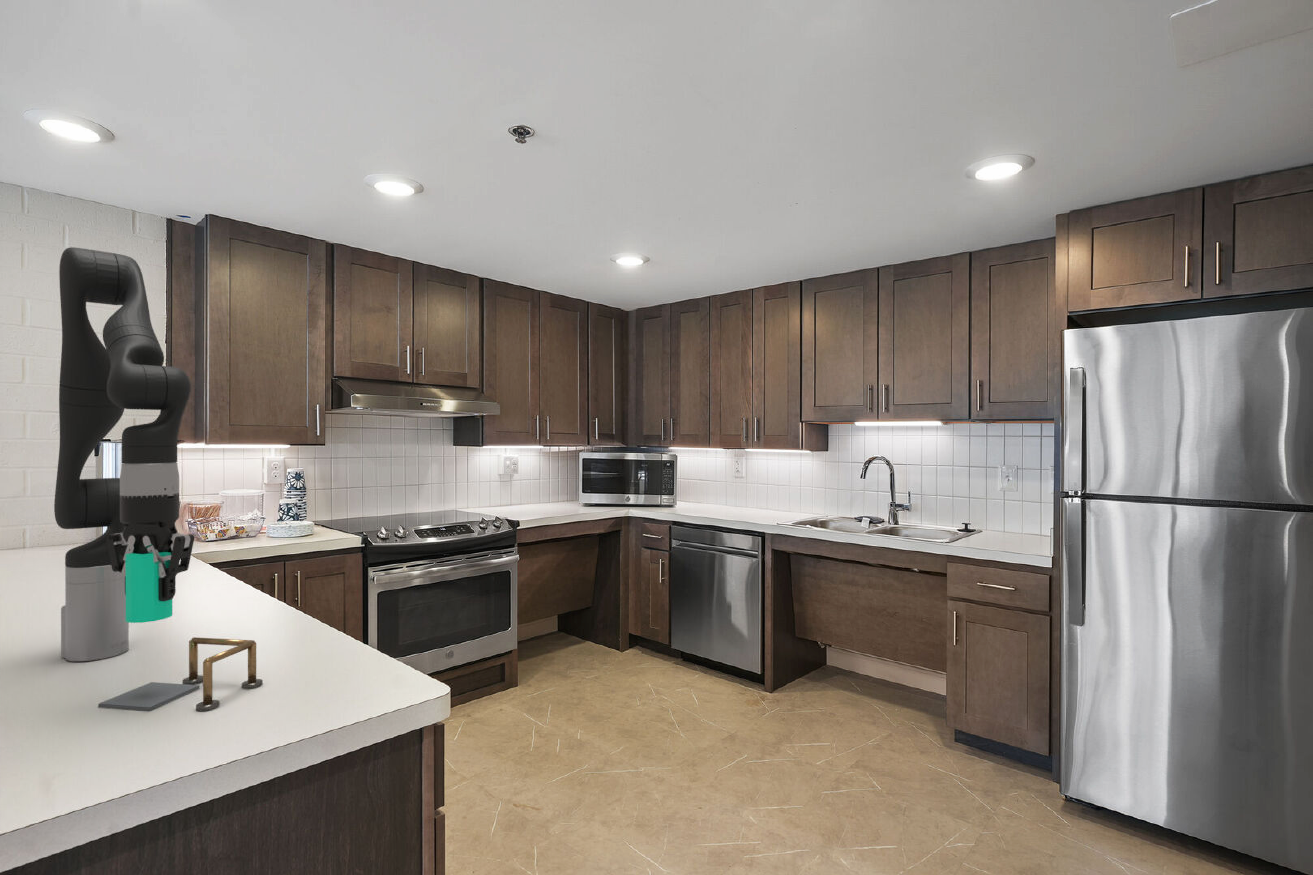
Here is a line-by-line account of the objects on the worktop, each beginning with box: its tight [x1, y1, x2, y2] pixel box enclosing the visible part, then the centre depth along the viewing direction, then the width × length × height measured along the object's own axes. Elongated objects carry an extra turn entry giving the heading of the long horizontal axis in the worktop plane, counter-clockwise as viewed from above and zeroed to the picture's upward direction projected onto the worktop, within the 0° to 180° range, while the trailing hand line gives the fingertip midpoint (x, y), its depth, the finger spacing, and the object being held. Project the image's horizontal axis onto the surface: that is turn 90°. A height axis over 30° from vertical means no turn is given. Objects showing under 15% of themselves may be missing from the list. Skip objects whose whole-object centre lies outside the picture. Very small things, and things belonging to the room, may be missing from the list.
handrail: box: [181, 637, 264, 713], centre depth 107 cm, size 14×12×8 cm
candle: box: [126, 552, 173, 624], centre depth 106 cm, size 6×6×12 cm
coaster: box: [97, 681, 201, 712], centre depth 106 cm, size 9×9×1 cm
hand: (150, 598), depth 106 cm, fingers closed on candle, 5 cm apart
